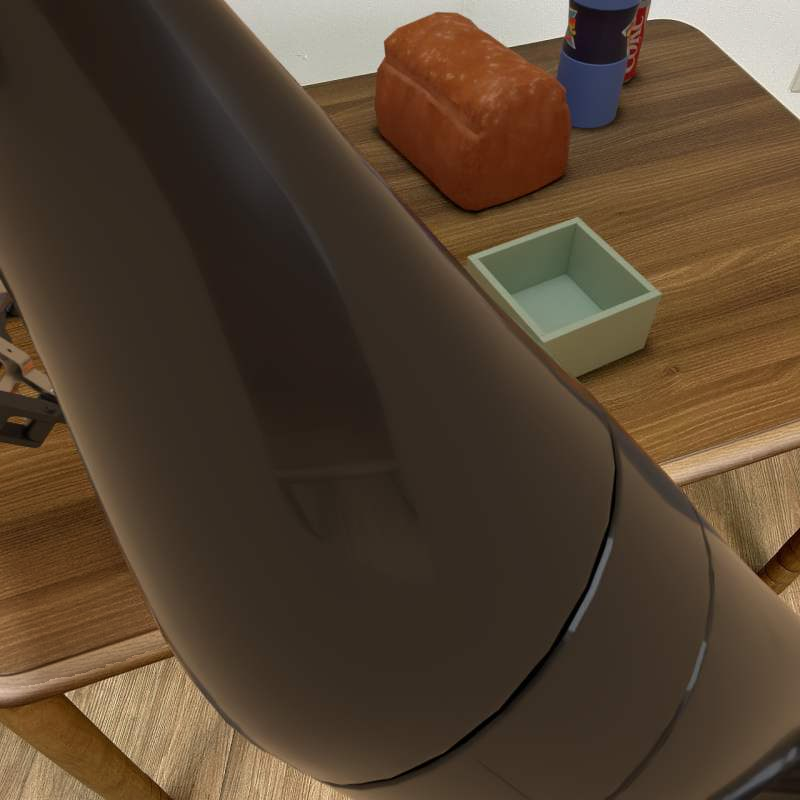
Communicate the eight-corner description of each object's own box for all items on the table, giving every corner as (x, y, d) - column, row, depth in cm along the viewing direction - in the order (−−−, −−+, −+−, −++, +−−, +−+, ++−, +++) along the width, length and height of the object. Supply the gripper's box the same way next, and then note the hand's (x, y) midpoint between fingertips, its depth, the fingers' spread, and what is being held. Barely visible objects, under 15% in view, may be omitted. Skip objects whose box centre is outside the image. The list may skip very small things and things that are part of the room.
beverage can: (632, 67, 114) (651, -17, 105) (634, 86, 110) (654, 1, 101) (594, 65, 114) (609, -18, 105) (595, 84, 111) (611, -1, 102)
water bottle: (550, 126, 104) (581, -76, 84) (551, 92, 110) (580, -104, 90) (618, 130, 103) (665, -73, 83) (615, 95, 109) (658, -102, 89)
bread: (468, 95, 109) (474, -12, 98) (574, 177, 96) (595, 64, 85) (367, 129, 104) (361, 20, 93) (464, 220, 91) (471, 107, 79)
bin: (643, 348, 77) (662, 293, 71) (533, 396, 73) (543, 342, 67) (566, 271, 85) (577, 216, 79) (463, 311, 81) (467, 256, 75)
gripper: (-194, 324, 30) (162, 400, 42) (-195, 150, 38) (103, 256, 50) (-251, 452, 32) (99, 489, 44) (-241, 264, 41) (53, 338, 53)
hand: (101, 365), depth 47 cm, fingers open, 8 cm apart
